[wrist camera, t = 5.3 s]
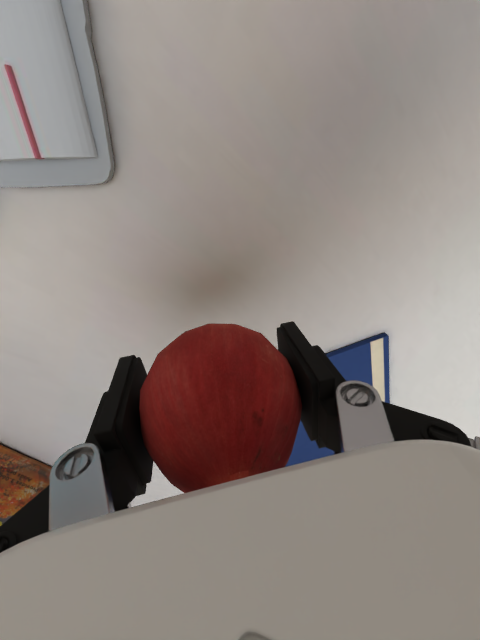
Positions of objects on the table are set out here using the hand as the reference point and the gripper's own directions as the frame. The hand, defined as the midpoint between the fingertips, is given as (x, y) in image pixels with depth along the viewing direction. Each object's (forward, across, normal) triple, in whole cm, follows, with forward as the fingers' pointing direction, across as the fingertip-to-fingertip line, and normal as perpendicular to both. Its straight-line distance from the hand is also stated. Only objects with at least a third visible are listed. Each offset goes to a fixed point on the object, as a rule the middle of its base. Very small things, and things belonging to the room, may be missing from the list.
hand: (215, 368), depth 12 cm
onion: (+2, 0, 0) cm, 2 cm away
